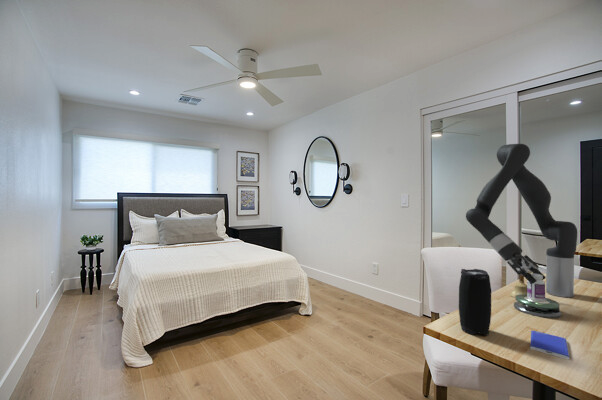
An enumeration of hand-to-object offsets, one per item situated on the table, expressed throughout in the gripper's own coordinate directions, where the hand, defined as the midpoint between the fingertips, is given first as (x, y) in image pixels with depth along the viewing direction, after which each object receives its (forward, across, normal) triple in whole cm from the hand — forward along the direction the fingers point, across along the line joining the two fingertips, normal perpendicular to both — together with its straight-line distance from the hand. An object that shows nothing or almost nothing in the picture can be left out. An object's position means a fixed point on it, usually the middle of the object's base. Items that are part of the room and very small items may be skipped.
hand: (539, 280), depth 107 cm
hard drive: (+17, -29, 0) cm, 33 cm away
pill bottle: (+5, 0, +6) cm, 8 cm away
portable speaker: (+5, -38, +11) cm, 41 cm away
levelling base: (+8, 0, +9) cm, 12 cm away
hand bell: (+1, +13, +16) cm, 21 cm away
